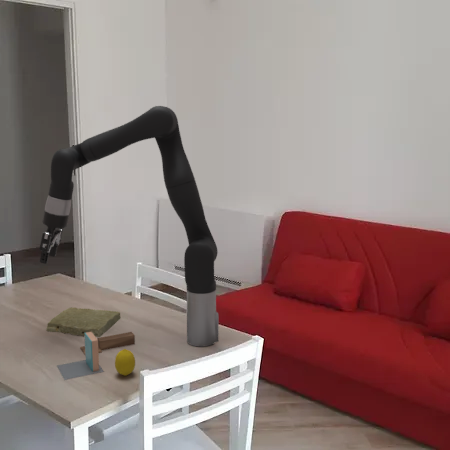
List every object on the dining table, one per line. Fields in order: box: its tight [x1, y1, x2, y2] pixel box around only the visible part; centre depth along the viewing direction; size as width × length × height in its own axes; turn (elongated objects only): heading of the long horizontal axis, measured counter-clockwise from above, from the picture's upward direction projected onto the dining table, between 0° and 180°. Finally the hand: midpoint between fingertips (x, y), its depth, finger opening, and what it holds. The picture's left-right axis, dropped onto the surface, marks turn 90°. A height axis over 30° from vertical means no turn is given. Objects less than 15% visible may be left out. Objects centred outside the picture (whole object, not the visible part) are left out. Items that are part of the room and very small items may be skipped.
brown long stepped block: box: [79, 331, 136, 355], centre depth 179 cm, size 6×16×4 cm, turn 118°
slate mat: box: [56, 359, 105, 381], centre depth 164 cm, size 11×10×1 cm
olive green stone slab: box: [45, 306, 122, 338], centre depth 198 cm, size 19×20×4 cm
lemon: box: [114, 348, 136, 377], centre depth 160 cm, size 6×6×8 cm
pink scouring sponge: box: [84, 332, 100, 372], centre depth 165 cm, size 2×7×9 cm, turn 28°
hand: (47, 259), depth 184 cm, fingers open, 8 cm apart
